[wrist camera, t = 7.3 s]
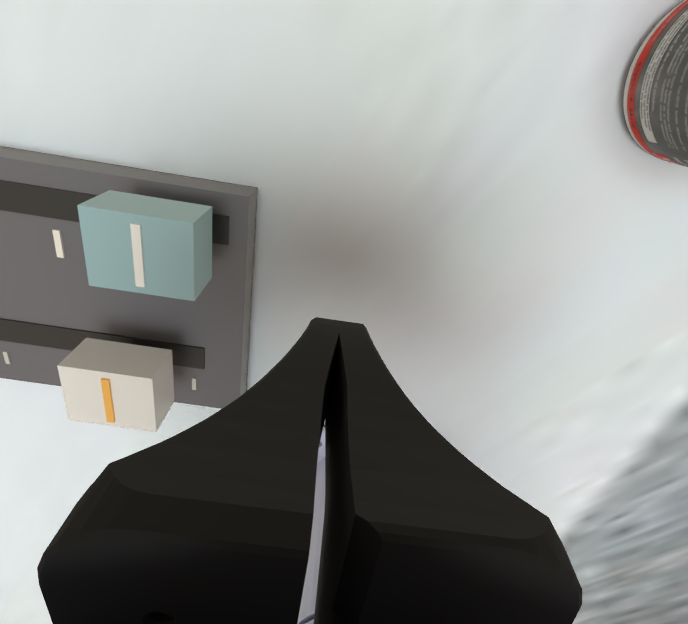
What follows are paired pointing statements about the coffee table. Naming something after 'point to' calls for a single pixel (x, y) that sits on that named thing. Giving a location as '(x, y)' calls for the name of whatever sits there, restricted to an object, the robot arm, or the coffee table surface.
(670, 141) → the pill bottle
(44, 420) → the coffee table surface
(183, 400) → the mixer panel
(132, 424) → the cream fader
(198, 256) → the teal fader
